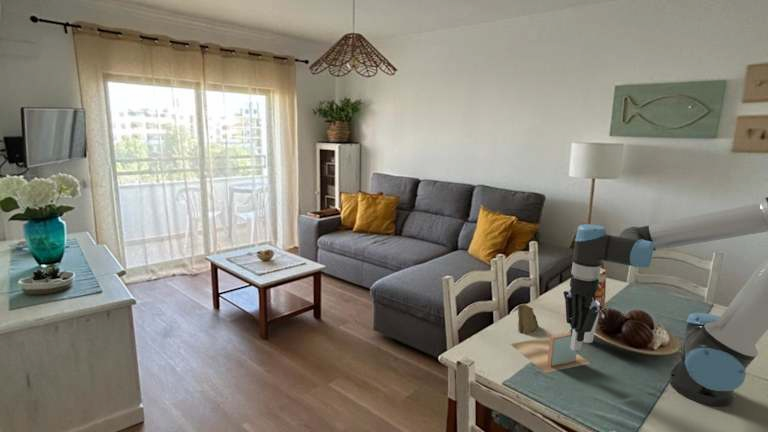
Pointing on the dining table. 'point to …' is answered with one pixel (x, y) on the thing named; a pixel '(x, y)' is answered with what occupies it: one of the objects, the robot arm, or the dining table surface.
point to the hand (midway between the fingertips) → (575, 348)
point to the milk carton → (601, 289)
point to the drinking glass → (590, 335)
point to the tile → (561, 350)
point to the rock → (526, 319)
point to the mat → (543, 354)
